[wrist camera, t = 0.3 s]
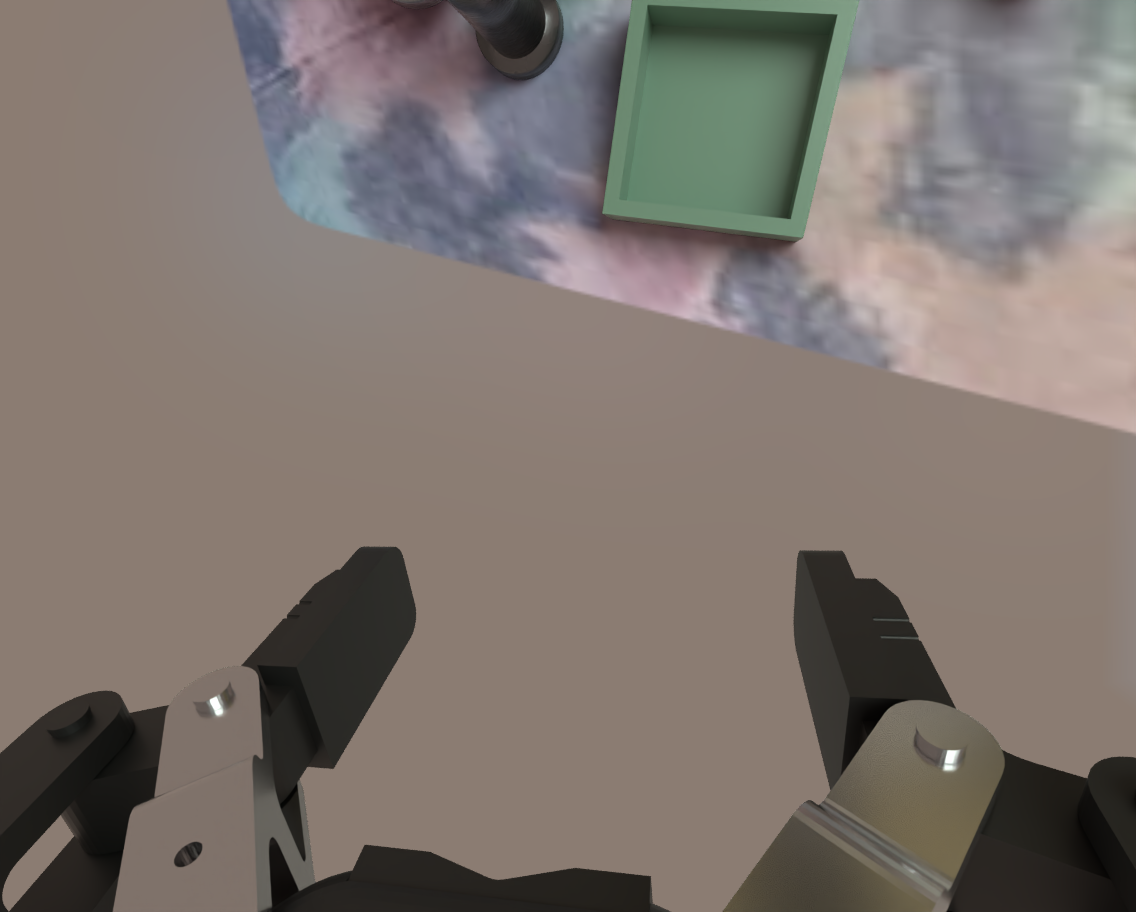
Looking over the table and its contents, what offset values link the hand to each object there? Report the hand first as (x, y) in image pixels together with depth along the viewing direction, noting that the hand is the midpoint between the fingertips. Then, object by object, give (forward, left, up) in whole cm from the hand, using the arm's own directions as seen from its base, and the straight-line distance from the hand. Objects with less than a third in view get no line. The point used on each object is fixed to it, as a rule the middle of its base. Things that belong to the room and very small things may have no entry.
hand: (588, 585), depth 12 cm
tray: (-14, -1, -27) cm, 31 cm away
